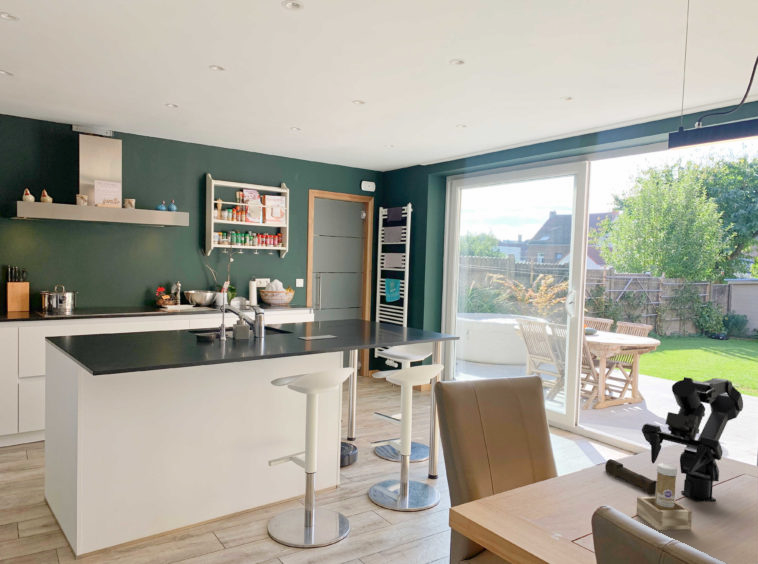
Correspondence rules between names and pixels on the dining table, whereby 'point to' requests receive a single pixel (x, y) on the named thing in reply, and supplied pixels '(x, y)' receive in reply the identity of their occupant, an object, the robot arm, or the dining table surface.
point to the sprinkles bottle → (665, 486)
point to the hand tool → (630, 476)
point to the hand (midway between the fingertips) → (670, 467)
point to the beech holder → (664, 515)
